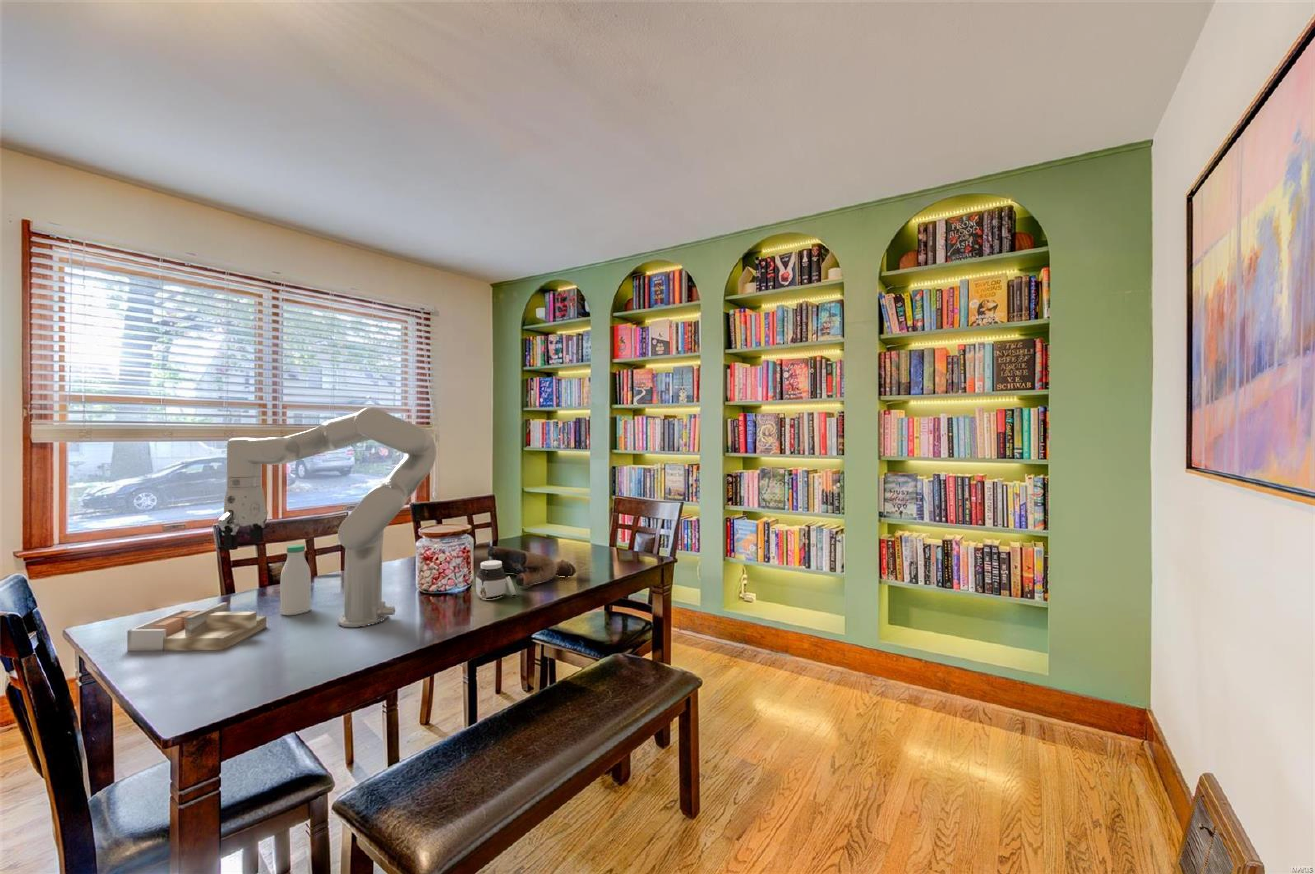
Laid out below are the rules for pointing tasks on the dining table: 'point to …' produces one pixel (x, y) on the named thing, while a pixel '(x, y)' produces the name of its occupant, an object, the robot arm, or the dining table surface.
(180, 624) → the tile
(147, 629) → the box
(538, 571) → the brown teddy bear
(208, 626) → the scraper
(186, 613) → the tile
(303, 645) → the dining table surface
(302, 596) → the milk bottle
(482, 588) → the spread jar
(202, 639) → the board
